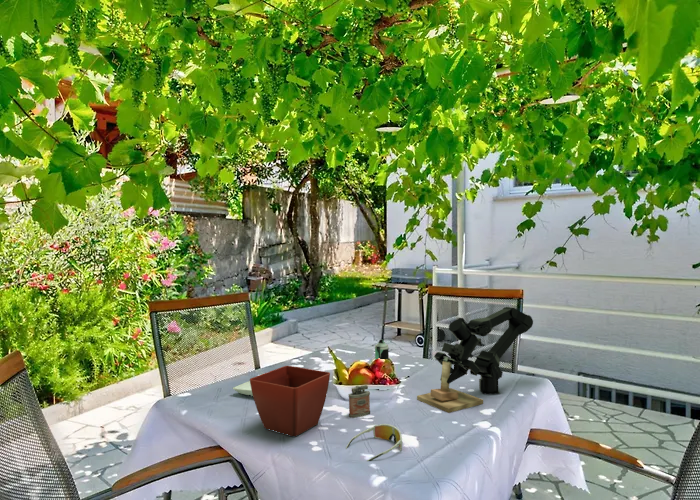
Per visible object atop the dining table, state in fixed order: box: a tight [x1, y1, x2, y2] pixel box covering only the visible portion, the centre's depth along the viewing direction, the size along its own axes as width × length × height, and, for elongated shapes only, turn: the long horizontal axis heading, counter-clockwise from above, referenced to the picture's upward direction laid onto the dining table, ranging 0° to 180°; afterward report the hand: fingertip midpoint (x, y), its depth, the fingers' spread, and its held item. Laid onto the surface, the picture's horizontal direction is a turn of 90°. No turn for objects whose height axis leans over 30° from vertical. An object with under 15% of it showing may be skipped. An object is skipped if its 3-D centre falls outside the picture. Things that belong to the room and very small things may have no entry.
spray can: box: [374, 338, 390, 361], centre depth 196 cm, size 6×6×20 cm
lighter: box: [347, 384, 371, 418], centre depth 167 cm, size 8×3×10 cm, turn 117°
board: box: [416, 387, 484, 414], centre depth 179 cm, size 17×17×2 cm
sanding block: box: [430, 361, 458, 401], centre depth 177 cm, size 8×6×13 cm
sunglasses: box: [345, 423, 403, 462], centre depth 140 cm, size 14×15×5 cm
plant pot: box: [249, 365, 331, 437], centre depth 156 cm, size 19×19×17 cm
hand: (444, 381), depth 177 cm, fingers closed on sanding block, 3 cm apart
